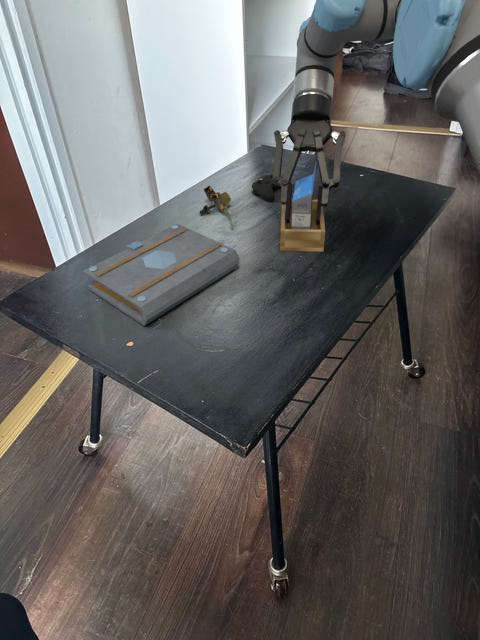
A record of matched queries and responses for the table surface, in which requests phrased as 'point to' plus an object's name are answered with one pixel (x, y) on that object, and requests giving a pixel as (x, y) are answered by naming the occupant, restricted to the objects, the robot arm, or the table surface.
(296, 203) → the blue cardboard box
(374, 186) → the table surface
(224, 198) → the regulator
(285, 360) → the table surface
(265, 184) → the game controller
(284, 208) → the tray
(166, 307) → the book
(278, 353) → the table surface
